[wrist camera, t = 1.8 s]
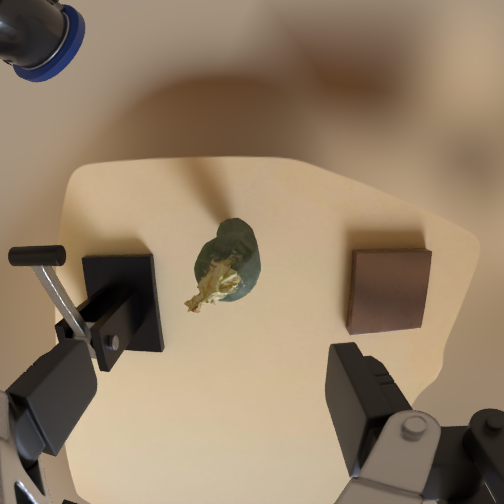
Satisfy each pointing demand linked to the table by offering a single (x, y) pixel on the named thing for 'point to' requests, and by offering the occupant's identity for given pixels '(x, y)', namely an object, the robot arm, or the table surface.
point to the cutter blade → (53, 285)
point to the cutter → (119, 307)
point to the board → (388, 290)
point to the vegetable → (226, 265)
